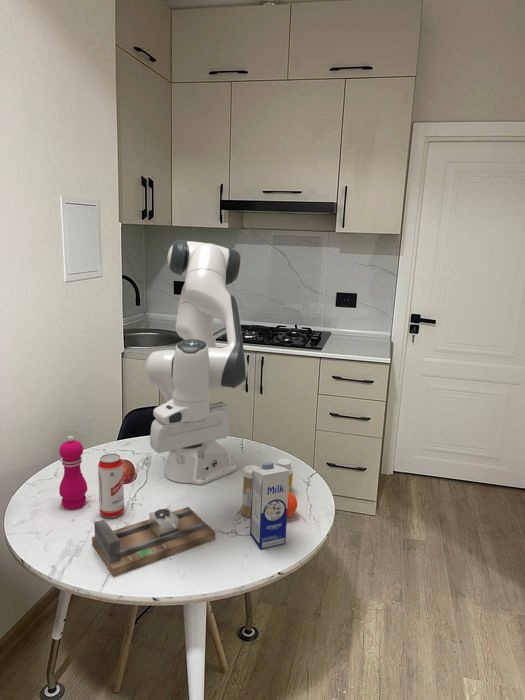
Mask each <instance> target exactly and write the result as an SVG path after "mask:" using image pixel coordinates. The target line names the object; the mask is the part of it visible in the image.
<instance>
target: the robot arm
mask: <svg viewBox="0 0 525 700" xmlns="http://www.w3.org/2000/svg"><path fill="white" fill-rule="evenodd" d="M187 240H188V239H177V240H175V241H174V242H173V243H172V245H171V247H169V249H168V253H167V264H168V268H169V271H171V273H173V274H176V275H178V276H185V280H184V284H183V286H182V289H181V293H180V297H179V301H178V307H177V315H176V321H175V331H176V333H177V335H178V336H179V337H180V338H181V339H183V340H181V341H179V342H177V343H176V346H175V349H165V350H164V349H163V350H156V351H155V350H154V351H153V352H151V353H150V354H149V356H147V358H146V361H145V365H144V372H145V376H146V378H147V379H148V381H149V382H150V383H152V385H154V386H155V387H156V388H157V389H158V390H159V391H160V392H161V393H162V396H163V397H164V399H165V403H162V404H161V405H158V406H157V407H154V409H153V413H152V415H153V417H154V418H155V419H154V420H153V421H152V423H151V426H150V436H149V442H150V443H149V444H150V447H151V449H152V450H153V451H154V452H155V453H157V454H163V453H167V452H168V456H167V457H168V458H167V464H166V467H165V471H164V475H165V477H166V478H167V479H168V480H171V481H173V482H176V483H181V484H194V485H198V486H202V485H206V484H208V483H210V482H212V481H215V480H217V479H220V478H222V477H224V476H226V475H228V474H231V473H233V472H235V471H237V465H236V463H235V462H234V461H233V460H232V459H231V458H230V457H229V452H228V450H227V449H226V447H224V445H222V444H221V443H220V442H218V440H221V439H225V438H227V437H228V436H229V435H230V422H229V417H228V416H229V406H228V404H227V403H225V402H224V401H218V402H213V403H211V393H210V390H213V389H220V388H221V389H222V388H233V389H235V388H237V387H238V386H240V385H242V384H243V382H245V381H246V380H247V376H248V372H249V371H248V370H249V367H248V366H249V364H248V359H247V355H246V353H245V349H244V343H243V335H242V334H243V333H242V326H241V320H240V313H239V308H238V302H237V300H236V298H235V296H234V295H232V294H230V293H229V291H228V290H227V287H226V286H227V285H231V284H232V283H233V282H235V281H236V280H237V278H238V277H239V275H240V273H241V271H242V259H241V254H240V253H239V251H237V250H236V249H232V248H230V247H228V248H227V247H224V246H222V245H217V244H214V243H211V242H208V243H206V242H200V241H192V240H191V241H189V240H188V241H187ZM214 318H216V319H218V320H219V321H220V322H222V323H223V324H224V326H225V332H226V339H227V340H226V341H227V346H225V347H218V346H217V344H216V342H215V339H214V331H213V330H214V328H213V327H214Z"/></svg>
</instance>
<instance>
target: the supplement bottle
mask: <svg viewBox="0 0 525 700" xmlns="http://www.w3.org/2000/svg"><path fill="white" fill-rule="evenodd" d="M276 463H277V464H276V466H277V465H278V466H281V467H284V468H287V469H288V470H290V471H289V485H288V491H289V492H291V493H292V491H293V490H292V489H293V474H294V470H293V468H292V467H291V466H292V461H291V460H290V459H288V458H279V459H277V461H276Z"/></svg>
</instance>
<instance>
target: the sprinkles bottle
mask: <svg viewBox="0 0 525 700" xmlns="http://www.w3.org/2000/svg"><path fill="white" fill-rule="evenodd" d="M259 468H260V467H259V466H258V465H255V464H254V465H252V464H250V465H246V466H244V467H243V469H242V475H243V484H242V485H243V487H242V510H241V515H243V516H244V517H245V518H251V493H252V469H259Z"/></svg>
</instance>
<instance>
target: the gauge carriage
mask: <svg viewBox="0 0 525 700" xmlns="http://www.w3.org/2000/svg"><path fill="white" fill-rule="evenodd" d="M173 512H174V511H172V510H171V509H170V508H169V507H165V508H160V509H158V510H155V511H153V512H150V513H148V514H149V515H148V516H149V517H148V518H149V523H150V529H151V530H152V531H153V532H154V534H155V535H156V536H157V537H158V538H159V537H162V536H165V535H167V534H170V533H173V532H176V531H179V527H178V517H177V516H176V515H175V514H174V513H173Z"/></svg>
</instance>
